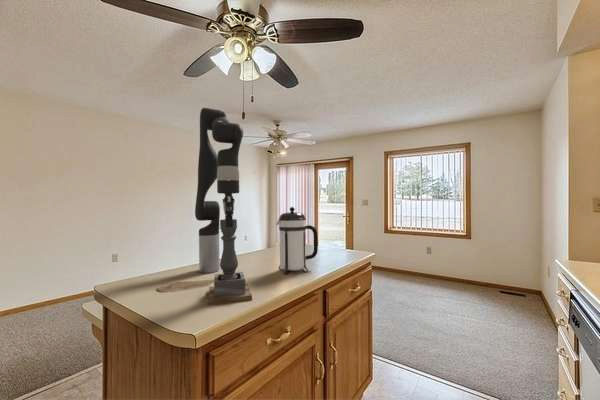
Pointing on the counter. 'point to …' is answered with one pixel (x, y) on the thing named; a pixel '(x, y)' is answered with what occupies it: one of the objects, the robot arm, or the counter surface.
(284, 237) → the coffee press
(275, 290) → the counter surface
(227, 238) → the candle holder
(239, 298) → the collar socket
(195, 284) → the fish fossil
